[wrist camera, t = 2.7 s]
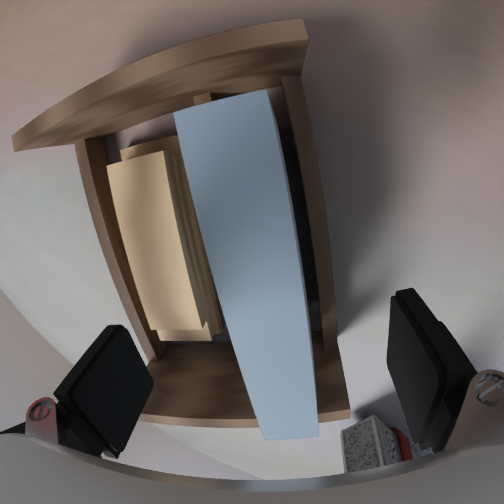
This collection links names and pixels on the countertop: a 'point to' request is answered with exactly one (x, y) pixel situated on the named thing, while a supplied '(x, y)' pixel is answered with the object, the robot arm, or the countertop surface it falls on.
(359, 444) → the decorative stone tablet
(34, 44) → the countertop surface
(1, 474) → the robot arm
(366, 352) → the countertop surface
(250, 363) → the painted sheet
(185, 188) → the offcut stack
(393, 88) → the countertop surface
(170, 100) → the walnut rack
